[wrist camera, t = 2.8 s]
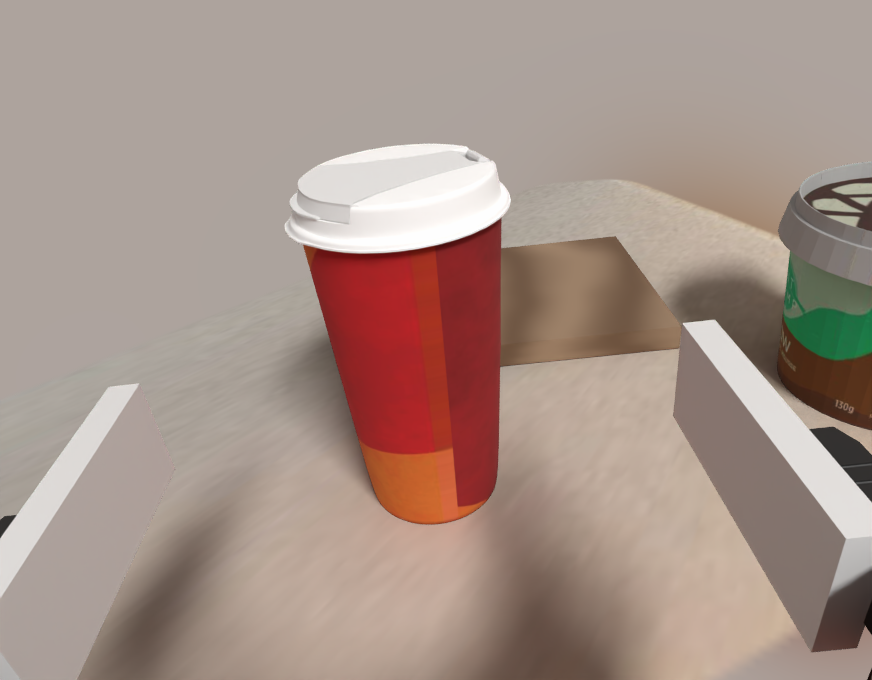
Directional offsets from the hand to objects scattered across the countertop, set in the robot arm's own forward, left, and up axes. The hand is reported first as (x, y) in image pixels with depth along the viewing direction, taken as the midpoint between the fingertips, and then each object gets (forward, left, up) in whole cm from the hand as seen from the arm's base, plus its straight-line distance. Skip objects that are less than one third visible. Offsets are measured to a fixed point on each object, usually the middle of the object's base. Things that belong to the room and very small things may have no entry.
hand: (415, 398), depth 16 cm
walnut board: (+6, +26, -12) cm, 29 cm away
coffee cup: (0, +10, -12) cm, 16 cm away
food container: (+21, +15, -12) cm, 28 cm away
